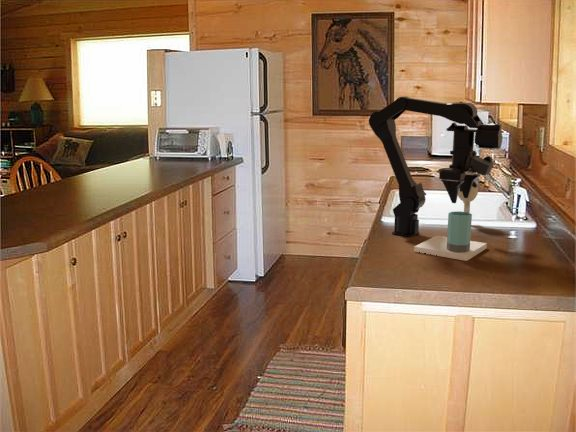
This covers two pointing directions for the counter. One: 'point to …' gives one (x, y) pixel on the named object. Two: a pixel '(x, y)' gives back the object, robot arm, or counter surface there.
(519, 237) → the counter surface
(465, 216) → the teal faceted cylinder
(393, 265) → the counter surface
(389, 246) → the counter surface
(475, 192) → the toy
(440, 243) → the pin board
